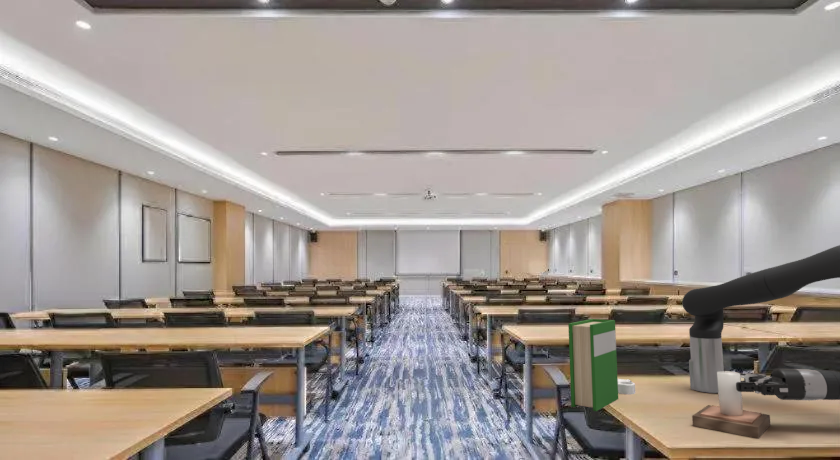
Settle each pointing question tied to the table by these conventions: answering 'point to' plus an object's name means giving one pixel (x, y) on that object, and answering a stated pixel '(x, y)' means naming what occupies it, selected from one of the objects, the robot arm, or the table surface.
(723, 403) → the ceramic cylinder
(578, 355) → the hardback book
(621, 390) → the white brass knuckles
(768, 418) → the walnut base
